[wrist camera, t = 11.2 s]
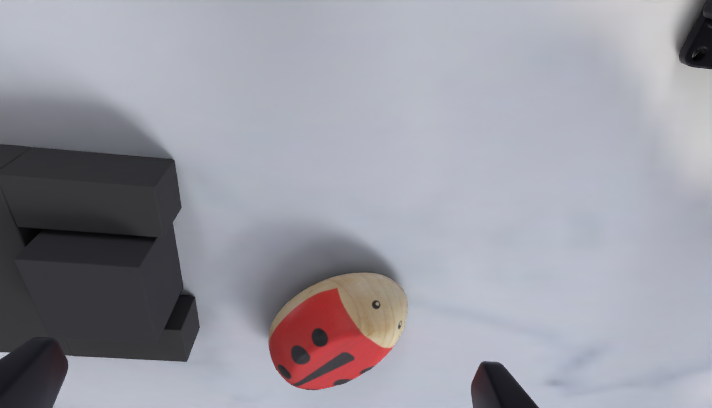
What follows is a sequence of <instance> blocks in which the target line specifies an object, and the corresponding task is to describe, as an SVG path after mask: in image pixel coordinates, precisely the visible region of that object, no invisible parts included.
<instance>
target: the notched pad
mask: <svg viewBox="0 0 712 408" xmlns="http://www.w3.org/2000/svg"><path fill="white" fill-rule="evenodd" d="M180 209H181V201H180V195H179V188H178V181H177V174H176V168H175V161H174V160H173V159H161V158H150V157H138V156H127V155H115V154H104V153H92V152H81V151H69V150H58V149H46V148H35V147H33V148H31V147H23V146H12V145H0V352H12V351H14V350H15V349H17V348H18V347H19V346H21V345H22V344H24V343H25V342H27V341H28V340H30V339H32V338H35V337H49V335H48V333H47V331H46V329H45V326H44V324H43V322H42V320H41V318H40V316H39V313H38V311H37V309H36V307H35V305H34V303H33V300H32V298H31V296H30V294H29V292H28V289H27V287H26V285H25V283H24V281H23V279H22V276H21V274H20V272H19V270H18V268H17V266H16V263H15V261H14V258H15V257H16V256H17V255H18V254H19V253H20V252H21V251H22V250H23V249H24V248H25V247H26V246H27V245H28V244H29V243H30V242H31V241H32V240H33V239H34V238H35V237H36V236H37V235H38V234H39V233H40V232H41V231H42V230H43V229H53V230H67V231H80V232H94V233H108V234H122V235H135V236H149V237H164V236H165V234H166V233H167V231H168V229H169V228H170V226H171V224H172V223H173V221H174V219H175V218H176V216H177V214H178V213H179V211H180ZM199 328H200V327H199V320H198V314H197V307H196V300H195V297H191V296H179V297H178V300H177V302H176V304H175V306H174V308H173V310H172V313H171V315H170V317H169V319H168V321H167V324H166V326H165V328H164V330H163V332H162V335H161V337H160V339H159V341H158V343H157V344H156V343H137V342H118V341H100V340H81V339H62V338H56V339H57V340H58V341H59V342H60V345H61V347H62V349H63V351H64V354H65V355H70V356H71V355H72V356H85V357H105V358H124V359H144V360H164V361H183V362H187V360H188V358H189V355H190V352H191V349H192V347H193V344H194V341H195V339H196V336H197V333H198V331H199ZM49 338H50V337H49Z"/></svg>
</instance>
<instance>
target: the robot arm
mask: <svg viewBox="0 0 712 408" xmlns="http://www.w3.org/2000/svg"><path fill="white" fill-rule="evenodd" d="M697 49H699V51H698V53H697V54H696V56H694V57H693V58H692V55H693V53H694V52H695V51H696V50H697ZM679 60H680V61H681V63H683V64H686V65H688V66H691V67H697V68H705V69H712V0H707V1H706V3H705V5H704V7H703V9H702V11H701V13H700V15H699V17H698V19H697V21H696V22H695V24H694V26H693V28H692V30H691V32H690V34H689V36H688V38H687V40H686V42H685V43H684V45H683V47H682V49H681V51H680V54H679ZM67 370H68V361H67V358H66V356H65V354H64V351H63V349H62V347H61V345H60V342H59V341H58V340H57V339H56V338H49V337H35V338H32V339H30V340H28V341H27V342H25V343H24V344H22V345H21V346H19V347H18V348H17V349H15V350H14V351H12V352H11V353H9V354H8V355H6V356H5V357H3V358H2V359H0V408H52V407H53V405H54V403H55V400H56V398H57V395H58V393H59V391H60V388H61V386H62V383H63V381H64V379H65V376H66V374H67ZM471 395H472V402H473V408H539V407H538V406H537V405H536V404H535V403H534V401H533V400H532V399H531V398H530V397H529V395H528V394H527V393H526V392H525V391H524V389H523V388H522V387H521V386H520V385H519V384H518V382H517V381H516V380H515V379H514V378H513V376H512V375H511V374H510V373H509V372H508V370H507V369H506V368H505V367H504V366H503V365H502V364H501V363H499V362H488V361H483V362H482V363H481V364H480V365H479V368H478V370H477V372H476V374H475V377H474V379H473V381H472V385H471Z"/></svg>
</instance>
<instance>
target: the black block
mask: <svg viewBox="0 0 712 408" xmlns="http://www.w3.org/2000/svg"><path fill="white" fill-rule="evenodd" d="M14 261H15V263H16V266H17V268H18V270H19V272H20V274H21V276H22V279H23V281H24V283H25V285H26V287H27V289H28V292H29V294H30V296H31V298H32V300H33V303H34V305H35V307H36V309H37V311H38V313H39V316H40V318H41V320H42V322H43V324H44V326H45V329H46V331H47V333H48V335H49V337H50V338H62V339H81V340H100V341H118V342H137V343H156V344H157V343H158V341H159V339H160V337H161V335H162V332H163V330H164V328H165V326H166V324H167V321H168V319H169V317H170V315H171V313H172V310H173V308H174V306H175V304H176V302H177V300H178V297H179V295H180V293H181V291H182V289H183V282H182V276H181V270H180V264H179V258H178V252H177V246H176V240H175V234H174V228H173V223H172V224H171V226H170V228H169V229H168V231H167V233H166V234H165V236H164V237H149V236H135V235H122V234H108V233H94V232H80V231H67V230H53V229H43V230H42V231H41V232H40V233H39V234H38V235H37V236H36V237H35V238H34V239H33V240H32V241H31V242H30V243H29V244H28V245H27V246H26V247H25V248H24V249H23V250H22V251H21V252H20V253H19V254H18V255H17V256H16V257H15V258H14Z"/></svg>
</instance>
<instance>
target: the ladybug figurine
mask: <svg viewBox="0 0 712 408" xmlns="http://www.w3.org/2000/svg"><path fill="white" fill-rule="evenodd" d="M407 309H408V304H407V297H406V294H405V292H404V290H403V289H402V288H401V286H400V285H399V284H398V283H396V282H395V281H393V280H392V279H390V278H388V277H386V276H383V275H380V274H376V273H349V274H343V275H338V276H334V277H331V278H328V279H325V280H323V281H321V282H319V283H316V284H314V285H312V286H310V287H309V288H307V289H305V290H304V291H302V292H300V293H299V294H297V295H296V296H295V297H293V298H292V299H291V300H290V301H289V302H287V303H286V304H285V305H284V306H283V308H282V309H281V310H280V311H279V312H278V314H277V315H276V317H275V318H274V320H273V322H272V324H271V327H270V331H269V341H268V342H269V350H270V355H271V358H272V361H273V363H274V366H275V368H276V370H277V371H278V372H279V373H280V375H281V376H282V377H283V378H284V379H285V380H286V381H287V382H288V383H290V384H291V385H293V386H295V387H298V388H301V389H307V390H320V389H324V388H329V387H333V386H336V385H341V384H344V383H346V382H348V381H350V380H352V379H354V378H356V377H358V376H360V375H361V374H363V373H365V372H366V371H368V370H370V369H371V368H372V367H374V366H375V365H376V364H377V363H379V362H380V361H381V360H382V359H383V358H384V357H385V356H386V355H387V354H388V353H389V351H390V350H391V349H392V348H393V347H394V345H395V344H396V342H397V341H398V339H399V337H400V335H401V333H402V331H403V329H404V326H405V322H406V317H407Z"/></svg>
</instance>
